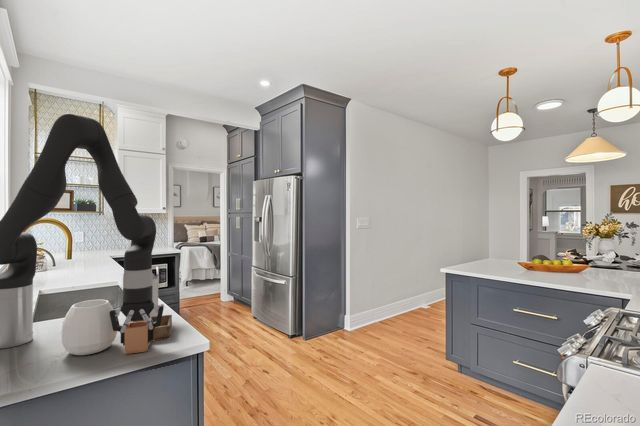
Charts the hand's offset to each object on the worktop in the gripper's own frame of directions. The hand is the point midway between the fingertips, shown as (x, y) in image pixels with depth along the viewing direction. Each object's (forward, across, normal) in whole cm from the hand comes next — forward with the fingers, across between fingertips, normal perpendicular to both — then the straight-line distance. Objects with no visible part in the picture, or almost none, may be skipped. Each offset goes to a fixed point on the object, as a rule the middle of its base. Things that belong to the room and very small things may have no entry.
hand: (137, 342), depth 95 cm
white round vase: (+2, -13, +5) cm, 14 cm away
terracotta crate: (+2, 0, 0) cm, 2 cm away
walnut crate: (+2, +2, +12) cm, 12 cm away
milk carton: (+2, -2, +27) cm, 27 cm away
